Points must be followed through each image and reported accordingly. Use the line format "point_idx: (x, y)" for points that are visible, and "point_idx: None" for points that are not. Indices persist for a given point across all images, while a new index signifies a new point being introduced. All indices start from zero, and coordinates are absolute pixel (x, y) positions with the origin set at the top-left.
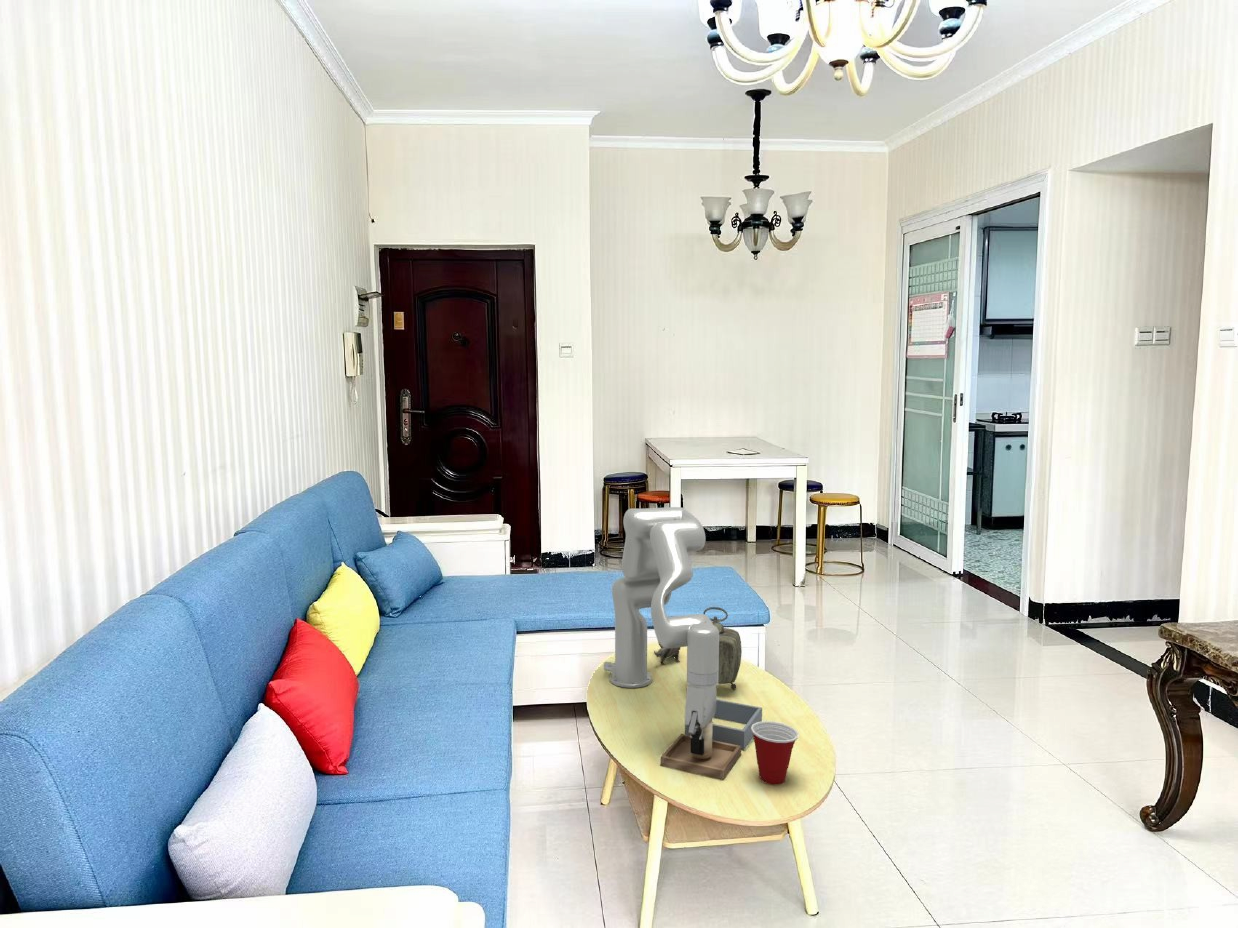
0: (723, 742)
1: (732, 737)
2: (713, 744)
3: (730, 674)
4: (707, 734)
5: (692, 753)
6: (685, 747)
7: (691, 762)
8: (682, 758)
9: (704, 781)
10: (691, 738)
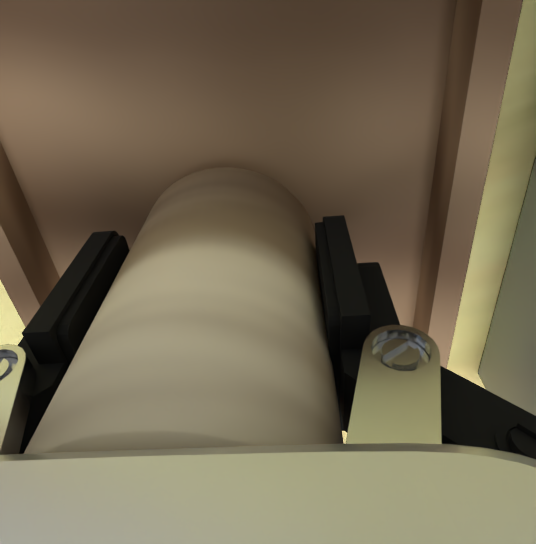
0: (451, 333)
1: (527, 375)
2: (429, 262)
3: None
4: None
5: (149, 213)
6: (330, 34)
7: (14, 266)
8: (115, 114)
9: (17, 328)
10: (35, 327)
